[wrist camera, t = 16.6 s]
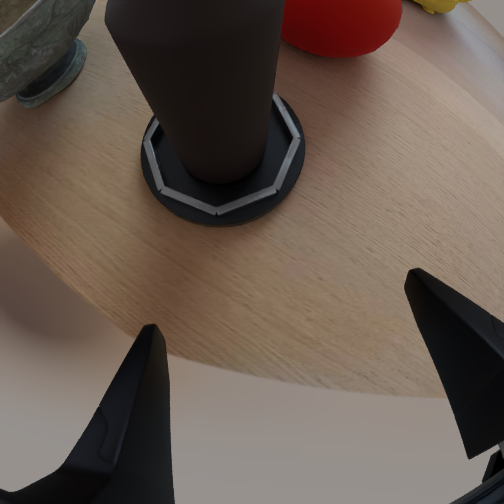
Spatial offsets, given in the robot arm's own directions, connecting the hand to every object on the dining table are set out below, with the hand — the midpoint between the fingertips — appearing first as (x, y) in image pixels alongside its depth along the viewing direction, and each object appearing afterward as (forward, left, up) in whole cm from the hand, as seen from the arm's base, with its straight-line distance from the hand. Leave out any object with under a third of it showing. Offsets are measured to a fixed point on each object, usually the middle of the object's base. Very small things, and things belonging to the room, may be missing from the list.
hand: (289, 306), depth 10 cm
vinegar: (+12, -1, -12) cm, 17 cm away
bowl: (+31, +13, -13) cm, 36 cm away
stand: (+12, -1, -13) cm, 17 cm away
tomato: (+22, -15, -13) cm, 29 cm away
